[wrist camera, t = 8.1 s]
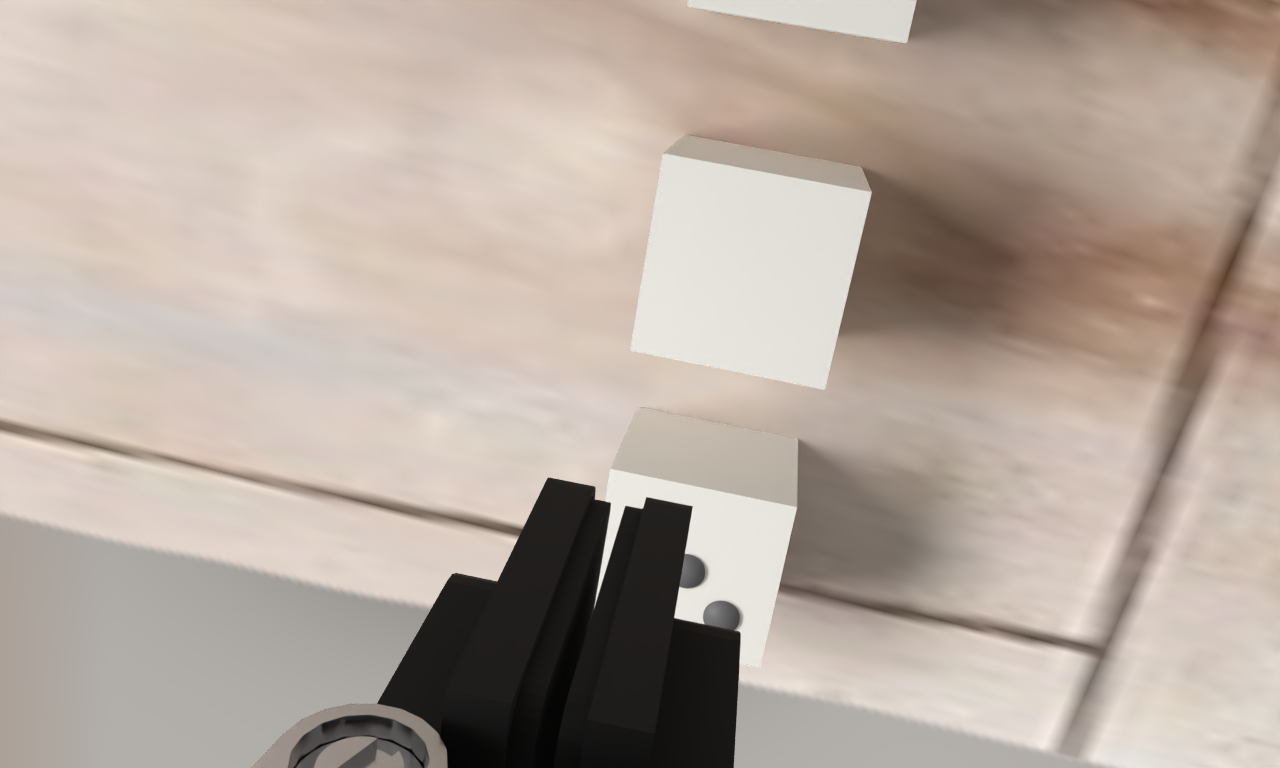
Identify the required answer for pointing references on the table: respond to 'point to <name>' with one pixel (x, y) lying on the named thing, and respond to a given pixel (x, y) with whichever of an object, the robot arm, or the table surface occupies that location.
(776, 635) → the table surface
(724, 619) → the three dot block
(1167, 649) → the table surface
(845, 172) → the plain block
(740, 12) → the two dot block
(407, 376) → the table surface
